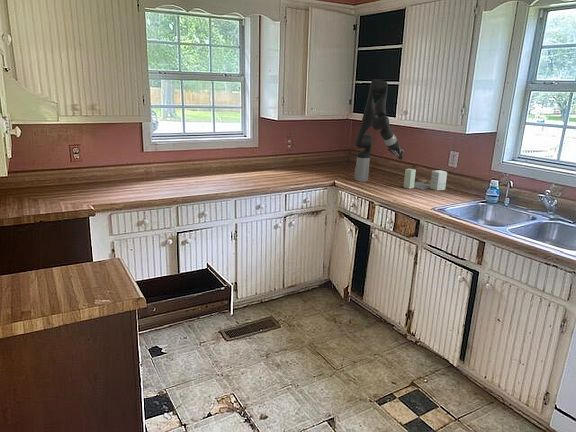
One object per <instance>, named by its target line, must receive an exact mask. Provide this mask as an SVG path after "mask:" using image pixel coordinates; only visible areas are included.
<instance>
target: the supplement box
mask: <svg viewBox="0 0 576 432" xmlns="http://www.w3.org/2000/svg"><path fill="white" fill-rule="evenodd" d="M447 177H448V172H447V171H445V170H441V169H440V170H437V169H436V170H432V171H431V179H430V181H431V185H430V188H429V189H431V190H434V191H445V190H446V186H447Z"/></svg>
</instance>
